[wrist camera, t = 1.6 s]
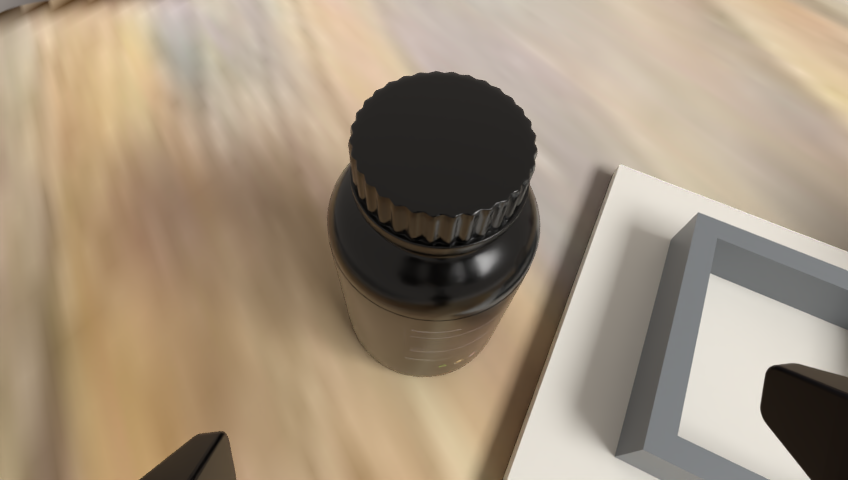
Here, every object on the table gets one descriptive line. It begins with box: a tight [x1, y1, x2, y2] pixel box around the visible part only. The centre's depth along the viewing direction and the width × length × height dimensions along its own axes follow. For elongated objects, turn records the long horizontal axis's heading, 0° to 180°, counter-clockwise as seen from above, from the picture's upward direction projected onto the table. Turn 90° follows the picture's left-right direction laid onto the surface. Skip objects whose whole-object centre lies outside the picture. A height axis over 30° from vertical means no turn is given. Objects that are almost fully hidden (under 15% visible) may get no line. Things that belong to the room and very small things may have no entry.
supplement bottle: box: [327, 71, 540, 377], centre depth 17 cm, size 7×7×12 cm
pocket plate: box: [503, 164, 848, 480], centre depth 20 cm, size 18×18×4 cm
